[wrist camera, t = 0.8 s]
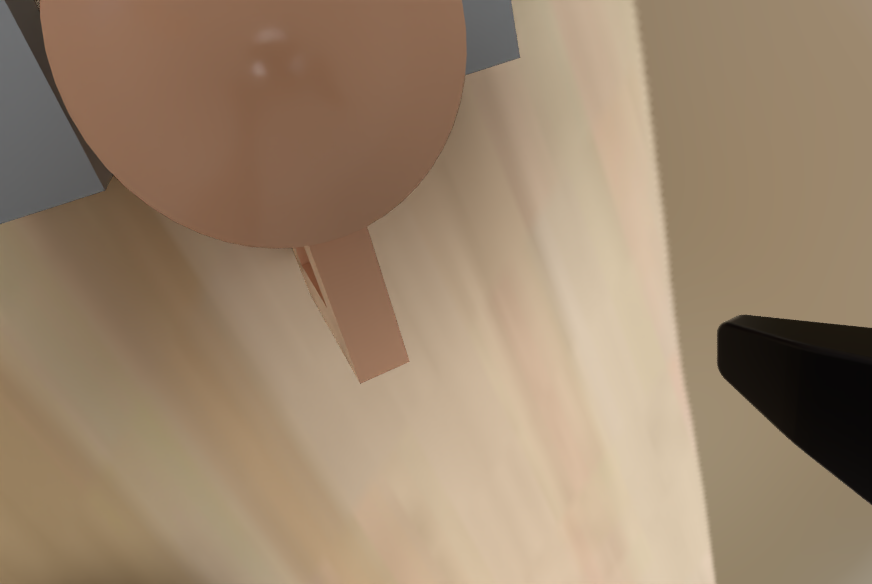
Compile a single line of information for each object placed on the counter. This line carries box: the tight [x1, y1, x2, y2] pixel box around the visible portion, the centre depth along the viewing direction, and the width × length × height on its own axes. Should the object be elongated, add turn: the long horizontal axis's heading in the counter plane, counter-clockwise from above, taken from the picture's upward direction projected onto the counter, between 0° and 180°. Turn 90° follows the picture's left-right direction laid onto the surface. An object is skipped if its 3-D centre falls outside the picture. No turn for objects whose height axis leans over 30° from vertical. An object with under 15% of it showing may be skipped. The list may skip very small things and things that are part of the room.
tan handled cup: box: [40, 0, 467, 383], centre depth 14 cm, size 6×10×9 cm, turn 13°
